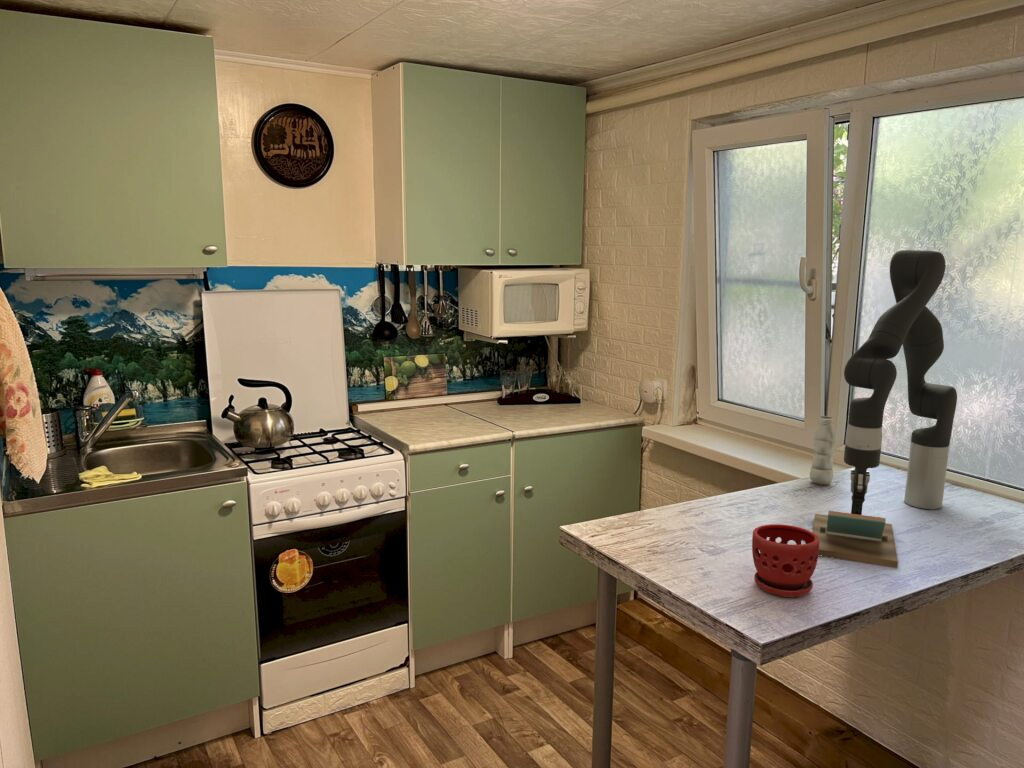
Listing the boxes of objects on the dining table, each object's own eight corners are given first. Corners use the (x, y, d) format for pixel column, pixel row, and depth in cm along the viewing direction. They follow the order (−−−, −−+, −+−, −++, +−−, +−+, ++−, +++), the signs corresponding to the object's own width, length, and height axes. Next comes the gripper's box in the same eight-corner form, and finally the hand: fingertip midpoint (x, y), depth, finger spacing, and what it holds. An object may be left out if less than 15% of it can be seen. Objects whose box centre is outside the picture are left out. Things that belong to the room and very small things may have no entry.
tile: (881, 534, 185) (881, 539, 184) (826, 526, 189) (826, 531, 189) (885, 518, 177) (885, 523, 176) (828, 510, 181) (828, 515, 180)
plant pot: (828, 590, 162) (833, 536, 160) (789, 607, 155) (793, 551, 152) (774, 568, 173) (778, 517, 170) (736, 583, 165) (739, 530, 163)
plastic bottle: (811, 486, 227) (817, 419, 223) (806, 479, 233) (812, 414, 229) (834, 487, 226) (841, 420, 222) (829, 480, 232) (835, 415, 228)
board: (814, 519, 202) (815, 509, 201) (891, 529, 195) (892, 519, 194) (810, 554, 180) (811, 543, 179) (897, 567, 173) (898, 556, 173)
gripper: (882, 453, 170) (874, 528, 173) (880, 438, 182) (872, 509, 185) (845, 449, 173) (838, 523, 176) (845, 435, 185) (838, 504, 188)
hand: (856, 516), depth 181 cm, fingers closed
